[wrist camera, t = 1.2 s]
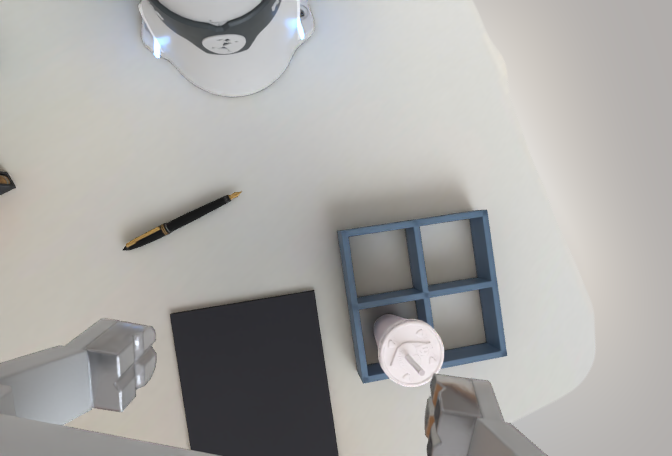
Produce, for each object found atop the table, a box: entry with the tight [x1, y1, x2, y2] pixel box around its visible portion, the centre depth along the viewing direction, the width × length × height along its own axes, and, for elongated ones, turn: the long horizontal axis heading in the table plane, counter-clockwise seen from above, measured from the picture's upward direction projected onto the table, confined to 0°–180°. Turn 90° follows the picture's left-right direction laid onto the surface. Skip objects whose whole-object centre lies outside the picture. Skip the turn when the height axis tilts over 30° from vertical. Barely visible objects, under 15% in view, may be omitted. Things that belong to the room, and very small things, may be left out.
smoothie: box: [373, 314, 444, 387], centre depth 43 cm, size 6×6×14 cm
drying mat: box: [170, 290, 338, 456], centre depth 48 cm, size 20×16×1 cm
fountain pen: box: [123, 192, 241, 250], centre depth 46 cm, size 14×1×2 cm, turn 117°
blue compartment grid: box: [337, 210, 507, 383], centre depth 49 cm, size 17×17×4 cm
